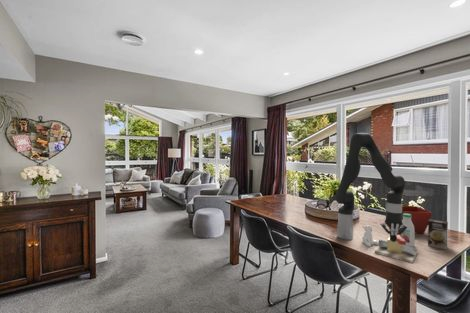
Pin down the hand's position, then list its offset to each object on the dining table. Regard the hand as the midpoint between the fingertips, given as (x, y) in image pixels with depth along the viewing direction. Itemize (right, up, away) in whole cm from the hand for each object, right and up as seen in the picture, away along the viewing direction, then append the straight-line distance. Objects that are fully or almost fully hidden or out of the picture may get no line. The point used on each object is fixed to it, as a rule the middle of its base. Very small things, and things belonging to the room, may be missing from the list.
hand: (393, 241), depth 130 cm
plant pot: (+45, -9, +47) cm, 66 cm away
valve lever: (+4, -1, +1) cm, 4 cm away
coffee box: (+40, -9, +16) cm, 44 cm away
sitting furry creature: (-1, -10, +21) cm, 24 cm away
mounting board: (+6, -10, +6) cm, 13 cm away
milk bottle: (+22, -10, +19) cm, 30 cm away
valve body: (+6, -8, +6) cm, 12 cm away
